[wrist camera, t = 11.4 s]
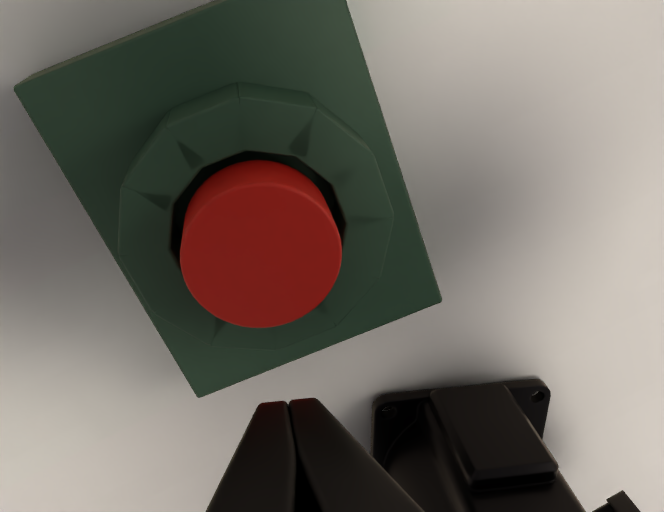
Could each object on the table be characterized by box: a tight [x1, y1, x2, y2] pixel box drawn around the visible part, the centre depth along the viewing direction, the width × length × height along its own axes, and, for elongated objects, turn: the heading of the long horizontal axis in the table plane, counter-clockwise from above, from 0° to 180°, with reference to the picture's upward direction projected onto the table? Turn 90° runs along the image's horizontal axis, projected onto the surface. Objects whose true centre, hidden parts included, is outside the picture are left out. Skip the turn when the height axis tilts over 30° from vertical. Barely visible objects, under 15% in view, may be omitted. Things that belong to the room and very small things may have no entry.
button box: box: [13, 0, 442, 398], centre depth 17 cm, size 10×8×4 cm
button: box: [180, 160, 342, 328], centre depth 15 cm, size 4×4×2 cm
